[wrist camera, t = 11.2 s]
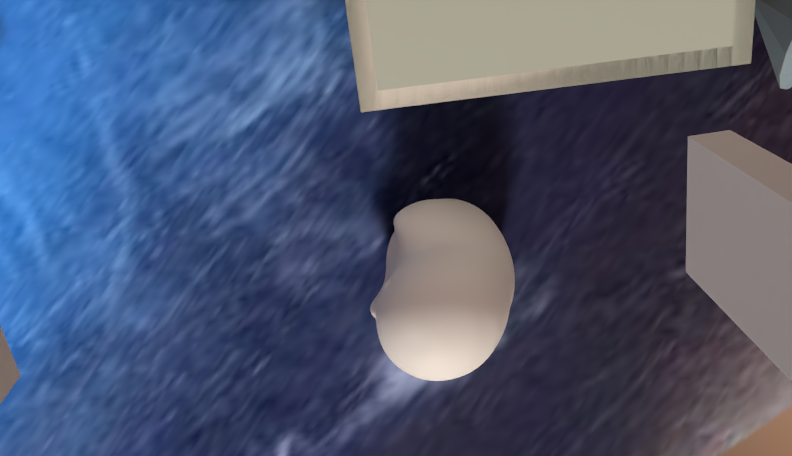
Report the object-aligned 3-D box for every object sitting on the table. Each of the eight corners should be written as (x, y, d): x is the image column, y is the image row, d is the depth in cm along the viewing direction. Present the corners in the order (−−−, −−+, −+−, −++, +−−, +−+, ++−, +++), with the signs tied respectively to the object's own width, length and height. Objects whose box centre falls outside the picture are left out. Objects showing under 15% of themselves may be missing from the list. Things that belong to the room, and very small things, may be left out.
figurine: (390, 174, 42) (397, 268, 31) (517, 202, 43) (568, 304, 32) (362, 282, 45) (359, 404, 34) (482, 307, 46) (517, 433, 35)
